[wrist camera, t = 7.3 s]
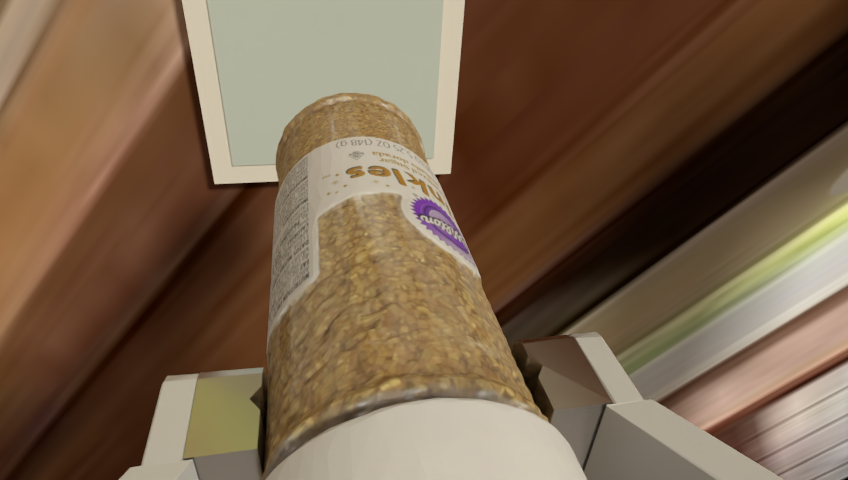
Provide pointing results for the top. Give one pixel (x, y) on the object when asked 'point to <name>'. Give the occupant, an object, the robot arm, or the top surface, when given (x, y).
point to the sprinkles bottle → (386, 319)
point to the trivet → (319, 70)
